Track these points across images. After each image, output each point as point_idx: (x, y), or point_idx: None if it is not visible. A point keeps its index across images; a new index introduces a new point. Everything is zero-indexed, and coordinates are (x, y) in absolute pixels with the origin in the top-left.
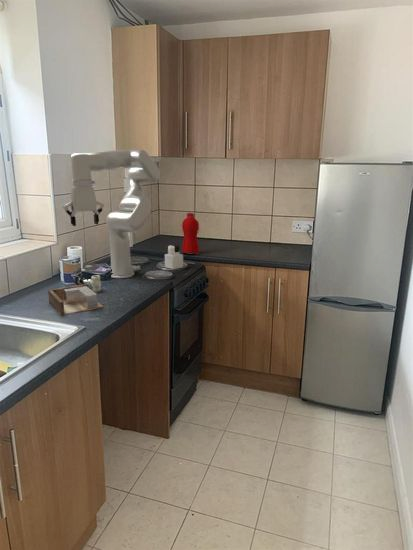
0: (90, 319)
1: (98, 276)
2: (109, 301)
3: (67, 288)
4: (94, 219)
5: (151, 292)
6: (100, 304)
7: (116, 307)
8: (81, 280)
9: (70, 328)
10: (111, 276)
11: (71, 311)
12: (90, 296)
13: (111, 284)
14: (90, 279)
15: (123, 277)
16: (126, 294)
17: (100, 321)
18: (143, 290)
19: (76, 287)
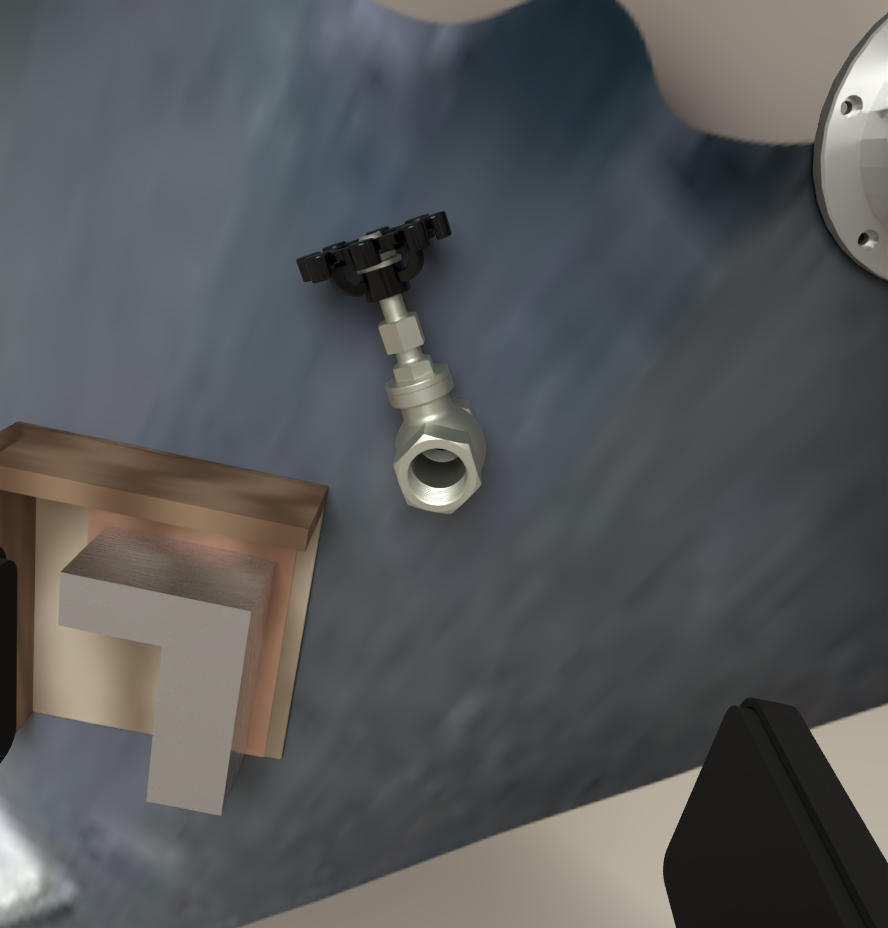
0: (135, 844)
1: (456, 498)
2: (372, 696)
3: (120, 511)
4: (765, 848)
5: (707, 741)
6: (283, 724)
7: (344, 802)
8: (367, 297)
9: (4, 869)
10: (817, 156)
11: (80, 708)
12: (176, 801)
13: (646, 365)
14: (416, 399)
15: (876, 275)
16: (551, 661)
17: (166, 892)
18: (705, 673)
19: (200, 526)
